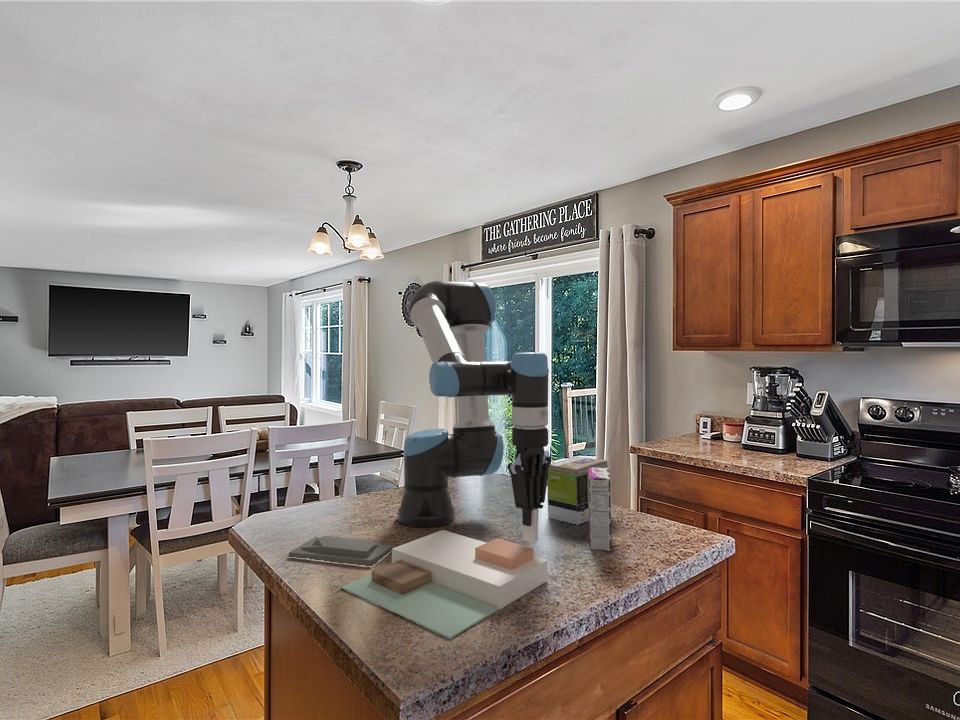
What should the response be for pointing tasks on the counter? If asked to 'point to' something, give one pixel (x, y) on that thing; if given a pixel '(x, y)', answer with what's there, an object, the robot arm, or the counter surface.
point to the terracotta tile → (504, 553)
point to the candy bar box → (599, 509)
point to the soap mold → (342, 550)
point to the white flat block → (470, 568)
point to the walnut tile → (401, 577)
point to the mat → (426, 606)
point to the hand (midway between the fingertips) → (530, 539)
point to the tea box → (570, 489)
